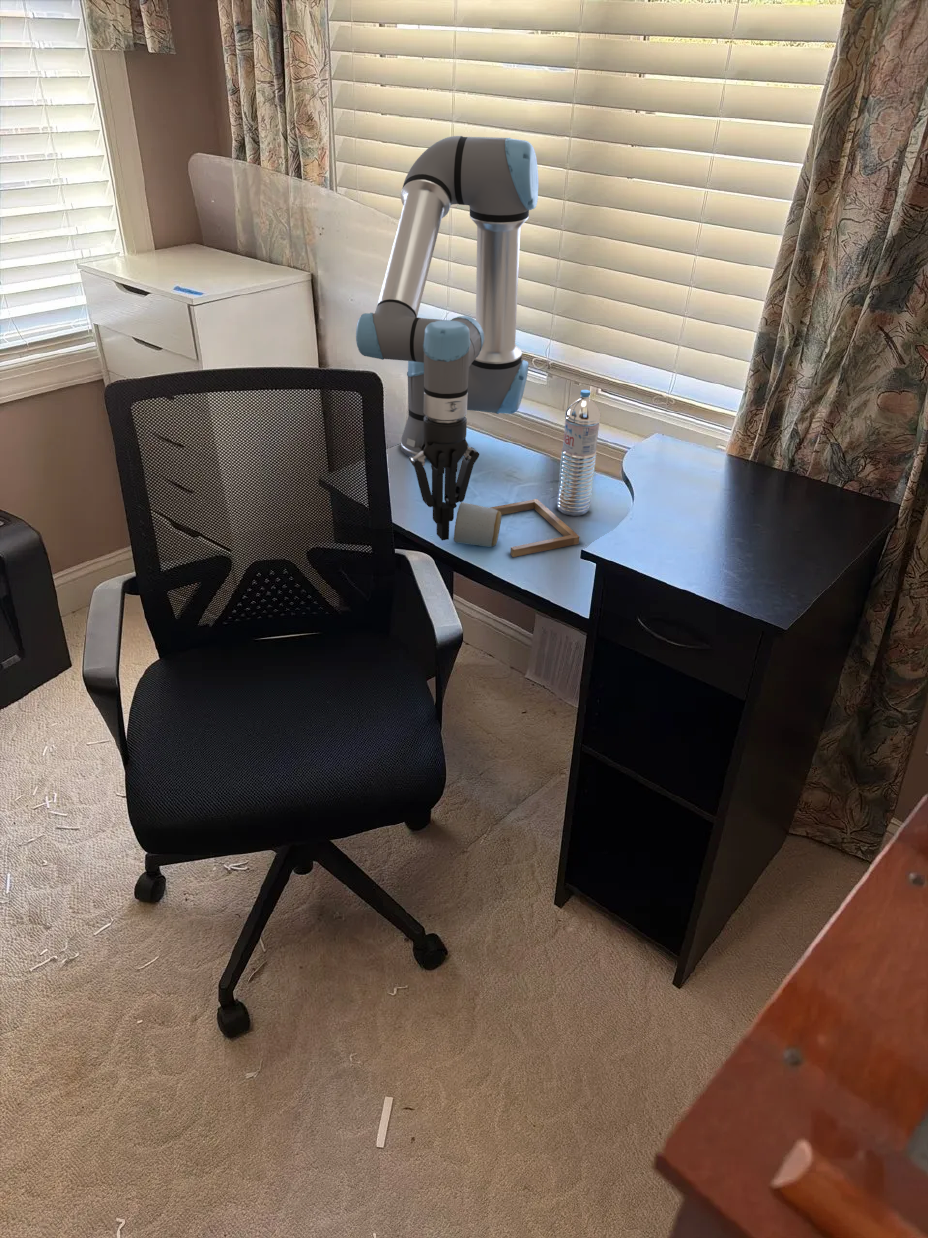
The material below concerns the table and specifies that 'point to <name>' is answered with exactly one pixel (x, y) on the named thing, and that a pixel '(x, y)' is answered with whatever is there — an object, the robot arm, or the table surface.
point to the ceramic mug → (477, 525)
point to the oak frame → (567, 532)
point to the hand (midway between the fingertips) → (442, 536)
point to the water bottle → (578, 456)
